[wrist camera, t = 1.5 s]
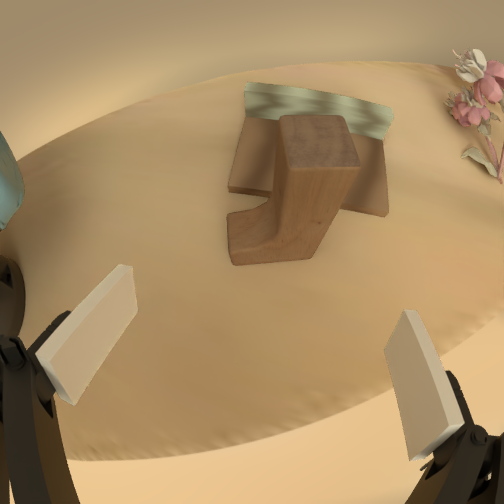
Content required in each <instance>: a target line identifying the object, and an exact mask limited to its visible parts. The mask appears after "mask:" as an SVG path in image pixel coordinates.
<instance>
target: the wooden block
mask: <svg viewBox="0 0 504 504" xmlns="http://www.w3.org/2000/svg"><path fill="white" fill-rule="evenodd" d="M360 168H361V163H360V160H359V157H358V154H357V151H356V148H355V145H354V142H353V140H352V137H351V134H350V132H349V129H348V126H347V124H346V121H345V118H344V117H343V116H340V115H283V116H280V118H279V120H278V130H277V142H276V154H275V166H274V178H273V189H272V194H271V196H270V198H269V199H268V201H267V202H266V203H264V204H262V205H260V206H258V207H256V208H255V209H252V210H246V211H240V212H234V213H229V214H228V215H227V232H228V250H229V255H230V258H231V261H232V263H233V265H245V264H257V263H269V262H280V261H291V260H302V259H310V258H312V256H313V254H314V252H315V251H316V249H317V247H318V246H319V244H320V242H321V240H322V239H323V237H324V235H325V233H326V232H327V230H328V228H329V226H330V225H331V223H332V221H333V219H334V217H335V216H336V214H337V212H338V210H339V208H340V207H341V205H342V203H343V201H344V199H345V197H346V196H347V194H348V192H349V190H350V188H351V186H352V184H353V182H354V181H355V179H356V177H357V175H358V173H359V171H360Z"/></svg>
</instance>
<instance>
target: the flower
mask: <svg viewBox="0 0 504 504" xmlns="http://www.w3.org/2000/svg"><path fill="white" fill-rule="evenodd" d="M468 50H469V53H468V52H465V54H464V55H465V57H466V58H465V57H463V56H462V55H461V57H460V56H458V55H456V53H455V51H454V50H453V52H454V54H455V55H456V56H458V57H459V58H460V59H461V60H460V59H459V58H457V59H459V61H460V63H461V66H458V65H457V64H455V66H458V67H459V68H460V69H461V70H458V69H456V72H457V75H458V76H459V77H460V78H461V79H462V80H466V81H467V82H474V85H473V88H474V92H473V89H472V87H471V86H470V88H469V89H471V91H468V90H467V89H466V88H465V86H463V87H462V92H463V93H464V94H465V95H464V94H463V93H459V94H456V95H457V96H455V94H454V93H453V92H449V93H448V94H449V95H450V96H449V97H450V98H451V100H450V99H449V100H450V101H448V102H449V103H451V104H449V103H447V102H446V101H445V102H444V104H445V105H447V106H450V107H451V108H452V109H453V110H451V111H449V113H450V114H452V115H453V116H454V118H455V119H458V121H459V122H460V124H461V125H462V126H464V127H468V126H471V124H475V125H479V127H478V131H479V132H481V133H482V134H483V135H485V137H486V139H487V142H488V145H489V148H490V151H491V154H492V157H493V160H494V163H495V166H496V169H495V167H494V166H493V164H492V163H491V162H489V161H487V159H486V158H485V157H484V156H483V155H482V153H481V152H480V151H479V150H478V149H477V148H475V147H472V148H470V149H468V150H467V151H465V152H464V154H463V155H462V156H461V158H464V157H466V156H470V157H471V158H473V159H474V160H475V161H477V162H479V163H481V164H484V165H485V166H486V168H487V170H488V172H489V174H490V175H492V176H494V177H497V178H498V179H499V180H500V184H502V179H501V174H502V170H503V165H504V144H503V150H502V155H501V160H500V165H499V164H498V160H497V156H496V152H495V149H494V147H493V145H492V143H491V140H490V134H491V126H490V124H489V121H490V119H493V120H497V119H498V120H499V121H500V119H499V117H498V116H496V115H495V114H493V113H492V112H490V111H489V110H488V109H487V108H486V106H485V105H486V104H487V103H486V102H485V100H484V96H485V97H486V99H487V100H488V101H489V103H492V104H494V105H495V102H498V103H500V105H501V108H502V111H503V113H504V91H503V89H504V65H503V64H501V63H499V62H497V61H495V60H490V61H488V62H486V60H485V57H484V55H483V53H482V52H481V51H480V50H478V49H473V52H474V53H473V52H472V51H471V49H470V48H468ZM467 54H468V55H467ZM469 54H470V55H469ZM470 56H471V57H470ZM502 88H503V89H502ZM470 93H471V94H470ZM482 93H483V95H482ZM447 100H448V99H447ZM453 101H455V102H453ZM480 114H481V116H482V119H481V117H480ZM480 122H481V123H480ZM500 122H501V121H500ZM496 170H497V171H496Z"/></svg>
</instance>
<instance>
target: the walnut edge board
mask: <svg viewBox="0 0 504 504" xmlns="http://www.w3.org/2000/svg"><path fill="white" fill-rule="evenodd" d="M244 97H245V116H246V117H245V120H244V124H243V128H242V132H241V136H240V139H239V143H238V147H237V151H236V155H235V159H234V163H233V167H232V171H231V175H230V179H229V183H228V189H229V192H232V193H240V194H248V195H256V196H263V197H270V196H271V194H272V189H273V178H274V166H275V154H276V142H277V130H278V120H279V118H280V116H283V115H340V116H343V117H344V118H345V121H346V124H347V126H348V129H349V132H350V134H351V137H352V140H353V142H354V145H355V148H356V151H357V154H358V157H359V160H360V163H361V168H360V171H359V173H358V175H357V177H356V179H355V181H354V182H353V184H352V186H351V188H350V190H349V192H348V194H347V196H346V197H345V199H344V201H343V203H342V205H341V207H340V208H339V209H344V210H350V211H355V212H360V213H366V214H371V215H376V216H381V217H385V216H386V215H387V214H388V213H389V203H388V189H387V177H386V166H385V157H384V149H383V141H382V140H383V138H384V136H385V134H386V132H387V130H388V128H389V126H390V124H391V122H392V120H393V118H394V115H393V111H392V108H390V107H386V106H383V105H379V104H376V103H372V102H368V101H364V100H360V99H356V98H351V97H347V96H342V95H337V94H332V93H327V92H322V91H316V90H310V89H304V88H297V87H290V86H282V85H274V84H264V83H252V82H247V83H246V86H245V90H244Z"/></svg>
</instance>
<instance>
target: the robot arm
mask: <svg viewBox="0 0 504 504" xmlns="http://www.w3.org/2000/svg"><path fill="white" fill-rule="evenodd" d="M24 194H25V189H24V182H23V178H22V175H21V172H20V169H19V167H18V164H17V162H16V160H15V157H14V156H13V153H12V151H11V149H10V147H9V145H8V144H7V142H6V140H5V138H4V137H3V135H2V133H1V132H0V231H1V230H2V229H5V228H6V227H7V224H8V221H9V220H10V219H11V218H12V216H13V215H14V214H15V213H16V211H17V210H18V209H19V208H20V206H21V205H22V202H23V200H24ZM24 308H25V290H24V283H23V278H22V275H21V272H20V270H19V268H18V266H17V265H16V263H15V262H14V261H12V260H11V259H9V258H7V257H5V256H3V255H0V504H10V498H9V497H10V495H9V480H10V482H11V488H12V493H13V497H14V501H15V504H80V502H79V499H78V496H77V493H76V490H75V487H74V484H73V481H72V478H71V474H70V471H69V468H68V464H67V460H66V456H65V452H64V448H63V444H62V439H61V434H60V429H59V424H58V419H57V413H56V406H55V400H54V398H53V394H54V393H55V391H56V392H57V393H58V395H59V397H60V398H61V399H62V400H64V401H66V402H68V403H69V404H71V405H73V406H75V405H76V404H77V402H78V401H79V399H80V397H81V396H82V394H83V393H84V391H85V389H86V388H87V386H88V385H89V383H90V382H91V380H92V378H93V377H94V375H95V374H96V372H97V371H98V369H99V368H100V366H101V365H102V363H103V362H104V360H105V359H106V357H107V356H108V354H109V353H110V351H111V350H112V348H113V347H114V345H115V344H116V342H117V341H118V339H119V338H120V337H121V335H122V334H123V332H124V331H125V329H126V328H127V326H128V325H129V324H130V322H131V321H132V319H133V318H134V317H135V315H136V314H137V312H138V306H137V299H136V292H135V285H134V277H133V268H132V266H127V265H123V264H119V265H118V266H117V267H116V268H114V269H113V270H112V271H111V272H110V273H109V274H108V275H107V276H106V277H105V278H104V279H103V280H102V281H101V282H100V283H99V284H98V285H97V286H96V287H95V288H94V289H93V290H92V291H91V292H90V293H89V295H88V296H87V297H86V298H85V299H84V300H83V301H82V302H81V303H80V304H79V305H78V306H77V307H76V308H75V309H74V310H73V311H72V312H71V311H68V310H67V311H66V312H64V313H62V314H60V315H59V316H58V317H57V318H56V319H55V320H54V321H53V322H52V323H51V325H49V326H48V327H47V328H46V331H44V332H43V333H42V334H41V335H40V336H39V337H38V338H37V339H36V341H35V342H34V343H33V344H32V345H31V346H30V347H29V349H28V350H26V348H25V347H24V344H23V342H22V341H21V339H20V338H19V337H17V336H18V333H19V331H20V328H21V325H22V321H23V316H24ZM384 353H385V357H386V360H387V364H388V367H389V371H390V375H391V379H392V382H393V386H394V390H395V394H396V398H397V403H398V407H399V411H400V416H401V420H402V425H403V430H404V435H405V440H406V445H407V450H408V457H409V461H414V460H420V459H425V458H426V457H427V456H428V455H430V454H431V453H432V452H433V456H434V458H433V459H432V460H430V461H429V462H428V463H427V464H425V465H424V466H423V467H422V468H421V469H420V471H422V470H423V469H425V468H426V467H427V468H426V470H425V472H424V473H423V475H422V477H421V479H420V480H419V482H418V484H417V485H416V487H415V489H414V490H413V492H412V494H411V495H410V497H409V498H408V500H407V501H406V503H405V504H504V432H503V433H502V434H501V435H500V436H491V435H488V433H487V432H486V430H485V429H484V428H483V427H481V426H479V425H475V424H474V422H473V419H472V417H471V414H470V411H469V408H468V406H467V403H466V401H465V398H464V397H463V396H464V395H463V393H462V390H460V385H459V383H458V381H457V379H456V377H455V376H454V375H453V374H452V373H451V371H445V370H444V367H443V365H442V363H441V360H440V358H439V356H438V354H437V351H436V349H435V347H434V345H433V343H432V341H431V338H430V336H429V334H428V332H427V330H426V328H425V326H424V324H423V322H422V320H421V318H420V316H419V314H418V312H417V310H409V309H404V310H403V312H402V314H401V316H400V318H399V320H398V323H397V325H396V327H395V329H394V331H393V333H392V335H391V337H390V339H389V341H388V343H387V345H386V347H385V349H384ZM490 473H491V479H489V480H488V475H489V474H490Z"/></svg>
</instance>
